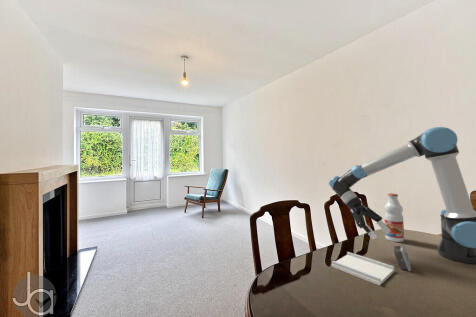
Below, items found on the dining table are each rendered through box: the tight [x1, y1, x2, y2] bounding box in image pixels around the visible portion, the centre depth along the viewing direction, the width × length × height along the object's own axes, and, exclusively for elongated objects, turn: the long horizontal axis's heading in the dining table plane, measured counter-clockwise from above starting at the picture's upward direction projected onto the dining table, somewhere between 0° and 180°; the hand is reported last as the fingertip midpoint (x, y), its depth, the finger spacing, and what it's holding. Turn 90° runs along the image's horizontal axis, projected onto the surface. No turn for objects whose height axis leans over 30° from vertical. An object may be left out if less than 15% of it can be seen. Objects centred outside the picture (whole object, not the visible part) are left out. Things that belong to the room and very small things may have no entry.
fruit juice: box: [384, 192, 405, 243], centre depth 131 cm, size 9×9×28 cm
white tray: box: [330, 251, 396, 286], centre depth 97 cm, size 20×17×2 cm
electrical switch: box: [393, 243, 412, 272], centre depth 98 cm, size 9×5×9 cm, turn 141°
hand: (382, 235), depth 105 cm, fingers open, 13 cm apart
